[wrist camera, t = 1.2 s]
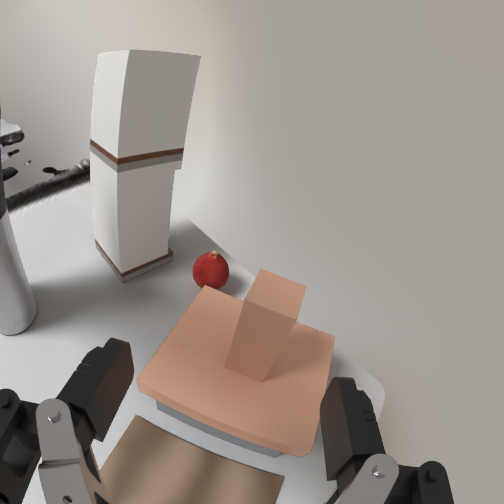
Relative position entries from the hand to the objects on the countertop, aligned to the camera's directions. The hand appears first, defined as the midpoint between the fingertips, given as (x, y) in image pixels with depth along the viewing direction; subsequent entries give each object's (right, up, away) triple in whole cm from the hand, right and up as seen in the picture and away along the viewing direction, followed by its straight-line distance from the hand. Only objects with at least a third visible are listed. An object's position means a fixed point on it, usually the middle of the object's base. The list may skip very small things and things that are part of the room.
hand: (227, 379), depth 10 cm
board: (-7, -22, +9) cm, 24 cm away
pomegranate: (-7, -1, +37) cm, 38 cm away
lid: (0, -8, +19) cm, 20 cm away
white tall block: (-21, +4, +39) cm, 45 cm away
